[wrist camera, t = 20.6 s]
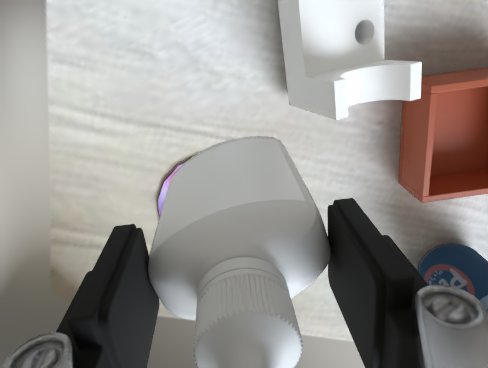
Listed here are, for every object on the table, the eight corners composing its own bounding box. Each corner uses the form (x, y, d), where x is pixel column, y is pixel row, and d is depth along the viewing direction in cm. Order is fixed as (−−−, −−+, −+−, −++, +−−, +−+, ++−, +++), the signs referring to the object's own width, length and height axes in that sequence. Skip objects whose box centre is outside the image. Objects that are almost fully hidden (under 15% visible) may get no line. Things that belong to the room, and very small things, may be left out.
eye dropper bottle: (177, 121, 17) (99, 311, 6) (297, 138, 17) (436, 337, 6) (168, 206, 18) (97, 481, 7) (278, 219, 19) (363, 487, 8)
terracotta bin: (403, 78, 33) (431, 86, 29) (504, 65, 33) (546, 70, 29) (398, 182, 37) (421, 203, 33) (488, 170, 37) (523, 189, 33)
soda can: (413, 243, 40) (489, 326, 29) (476, 234, 40) (576, 312, 29) (410, 294, 43) (479, 387, 32) (469, 285, 43) (558, 374, 32)
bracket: (359, 88, 34) (420, 98, 27) (289, 104, 32) (336, 119, 25) (353, -81, 29) (427, -120, 22) (269, -72, 27) (322, -111, 20)
